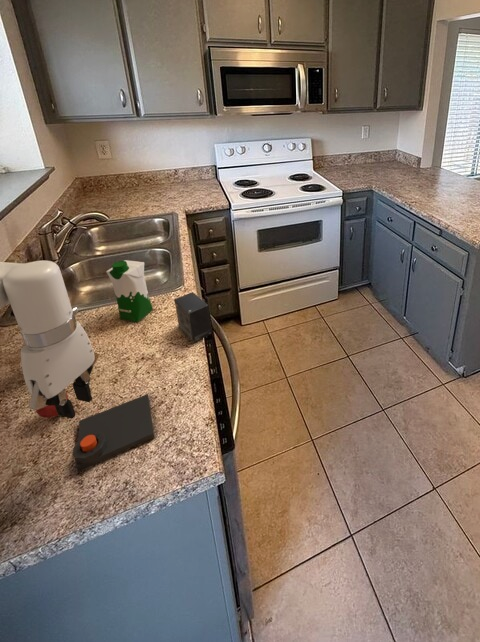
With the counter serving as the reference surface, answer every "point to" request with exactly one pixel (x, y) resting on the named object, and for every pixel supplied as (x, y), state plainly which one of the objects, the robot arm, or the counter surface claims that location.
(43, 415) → the onion
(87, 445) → the power button
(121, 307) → the milk carton
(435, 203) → the counter surface
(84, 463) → the scale
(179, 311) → the small box
